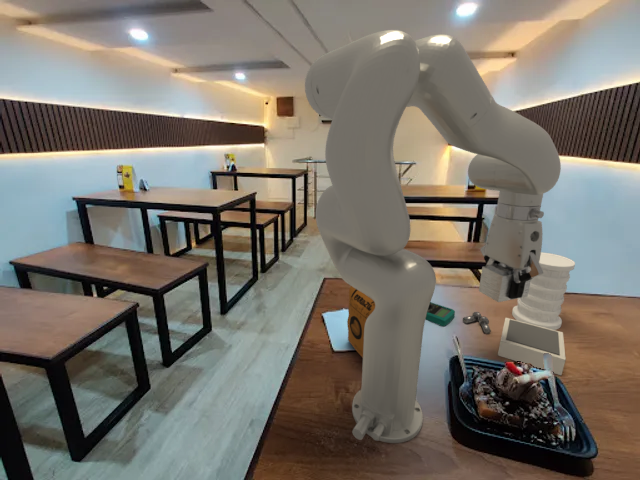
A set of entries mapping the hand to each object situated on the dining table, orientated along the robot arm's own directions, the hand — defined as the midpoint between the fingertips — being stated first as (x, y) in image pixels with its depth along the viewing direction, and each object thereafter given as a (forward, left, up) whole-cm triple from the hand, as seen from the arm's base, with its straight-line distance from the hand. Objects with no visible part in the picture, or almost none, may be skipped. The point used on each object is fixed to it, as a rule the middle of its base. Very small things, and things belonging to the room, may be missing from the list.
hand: (503, 290), depth 70 cm
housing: (0, 0, -1) cm, 1 cm away
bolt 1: (+11, +7, -16) cm, 21 cm away
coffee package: (-16, +24, -16) cm, 33 cm away
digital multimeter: (+9, +18, -17) cm, 26 cm away
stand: (+5, -7, -16) cm, 18 cm away
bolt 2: (+9, +3, -16) cm, 19 cm away
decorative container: (+23, -8, -16) cm, 30 cm away
